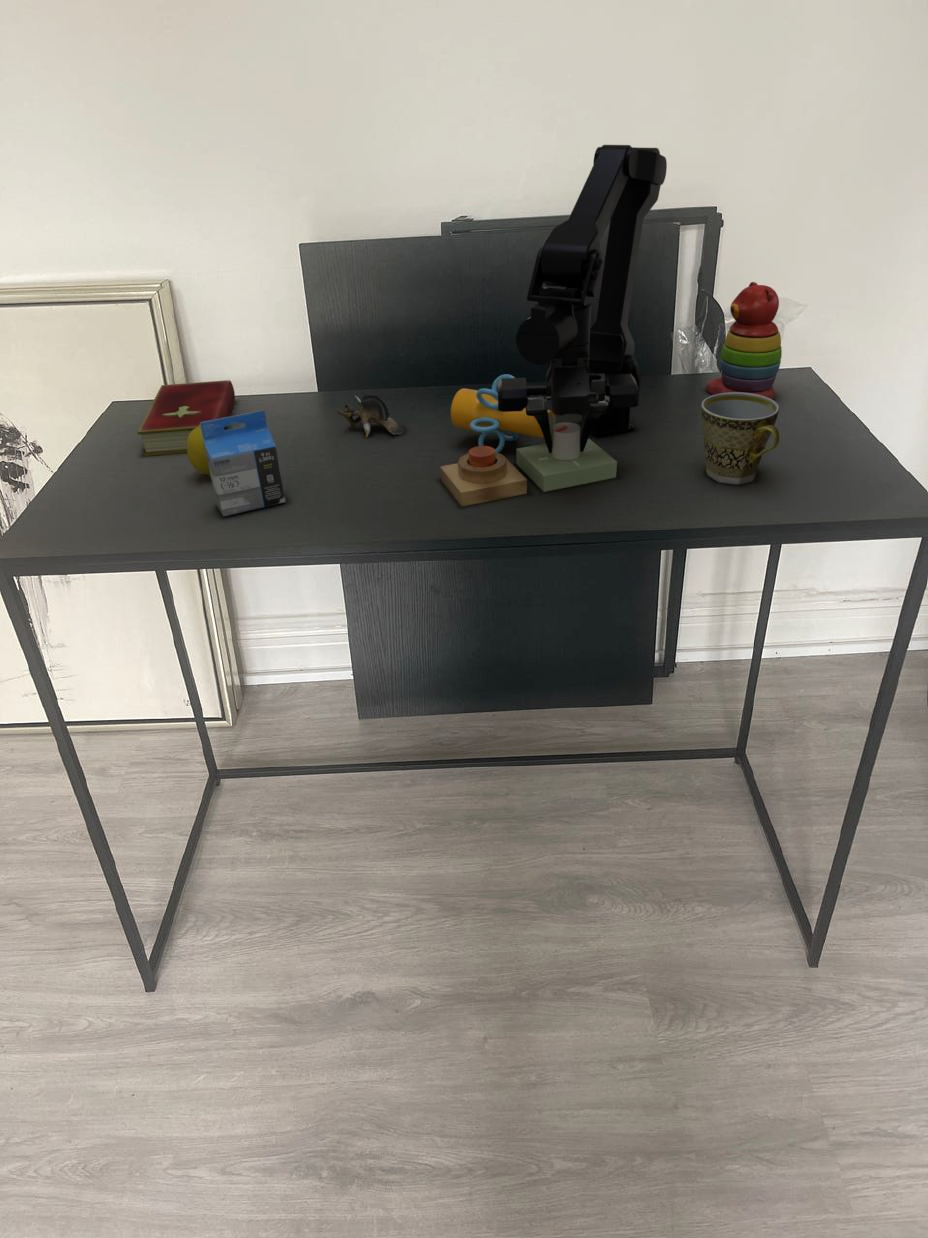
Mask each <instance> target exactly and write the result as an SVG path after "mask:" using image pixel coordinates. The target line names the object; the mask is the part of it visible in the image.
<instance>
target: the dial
mask: <svg viewBox="0 0 928 1238" xmlns="http://www.w3.org/2000/svg"><path fill="white" fill-rule="evenodd" d="M580 438H581V425H580V424H577V423H575V422H569V421H567V422H558V423H555V425H554V426H552V435H551V440H552V457H554V458H555V459H559V460H573V459H576V458H578V457H579V456H580Z"/></svg>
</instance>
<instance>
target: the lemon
mask: <svg viewBox="0 0 928 1238" xmlns="http://www.w3.org/2000/svg"><path fill="white" fill-rule="evenodd" d="M186 454H187V457H188V460H189V462H190V464H191V465H192V467H193V468H194V469H195V470H196V471H198V472H199V473H201V474H205V475H207V476H209V477H211V475H210V470H209V466H208V461H207V457H206V453H205V449H204V444H203V435H202V431H201V426H200V425H199V426H198V427H197V428H195V429H194V430H192V431H191V433H190V434H189V436H188V439H187V453H186Z"/></svg>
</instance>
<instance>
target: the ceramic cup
mask: <svg viewBox="0 0 928 1238" xmlns="http://www.w3.org/2000/svg"><path fill="white" fill-rule="evenodd" d="M779 412H780V405H779V404H778V402H777V401H775V400H772V399H770V398H767V397H765V396H761V395H757V394H752V393H743V392H729V393H721V394H716V395H714V394H711V395H710V396H708V397H706V398H705V399H703V400H702V402H701V425H702V434H703V440H704V443H703V444H704V456H705V470H706V475H707V476H708V477H709V478H711V479H713V480H714V481H716V482H717V483H719V484H720V483H722V484H729V485H744V484H747V483H751V482H753V481H754V480H755V479H756V475H757V473H758V469H759V465H760V463H761V460H762V457H763V455H765V454H766V453H767V452H769V451H772V450H774V449H775V448H776V447H777V446H778V445H779V442H780V433H779V430H778V428H777V427H776V426H775V425H776V422H777V419H778V416H779ZM771 435H772V436H773V438H774V439H773V441H774V442H773V444H772V445H770V446H769V447H767V448H766V446H767V443H768V441H769V439H770V437H771Z"/></svg>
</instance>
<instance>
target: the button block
mask: <svg viewBox="0 0 928 1238" xmlns="http://www.w3.org/2000/svg"><path fill="white" fill-rule="evenodd" d="M439 469H440V471H439V473H440V481H441V482H442V484H443V485H444V487H446V489H447V490H448V491H449V492H450V494H451V495H452V497H453V498H454V499H455V501H457V503H458V504H459V506H461V507H467V506H471V505H477V504H482V503H486V502H491V501H496V500H502V499H507V498H511V497H516V496H521V495H525V494H528V479H527V478H526V477H525V476H524V475H523V474H522V473H521V471H519V470H518V469H517V468H516V467H515V466H514V464H513V463H512V462H510V460H509V459H508V458H507V457H506V456H505V455H503V454H502V453H496V452H495V464H494V465H492V466H488V467H474V466H470V464H469V452H467V453H465V454H464V455H461V456H460V457H459V459H458V462H457V463H451V464H446V465H440V466H439Z"/></svg>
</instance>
